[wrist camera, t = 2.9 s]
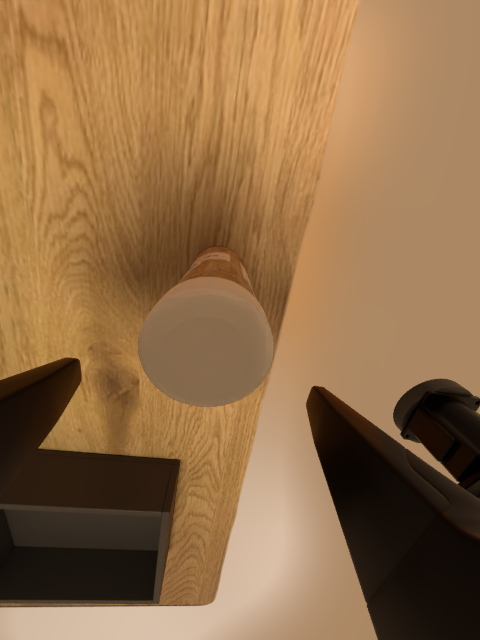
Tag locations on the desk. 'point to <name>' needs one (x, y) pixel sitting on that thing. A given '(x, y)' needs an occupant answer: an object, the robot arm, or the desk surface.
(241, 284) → the sprinkles bottle
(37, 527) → the dark grey tray
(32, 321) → the desk surface
